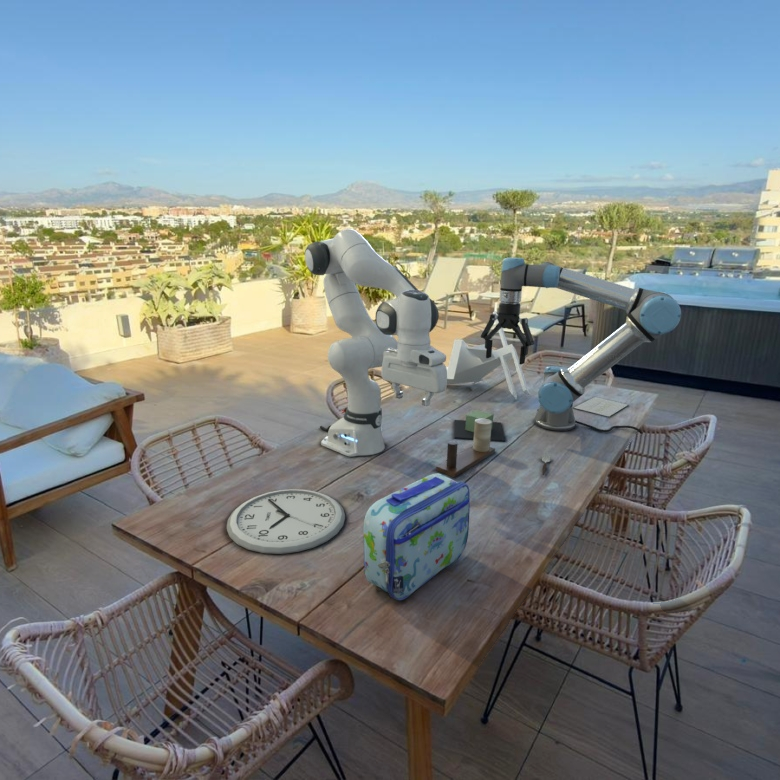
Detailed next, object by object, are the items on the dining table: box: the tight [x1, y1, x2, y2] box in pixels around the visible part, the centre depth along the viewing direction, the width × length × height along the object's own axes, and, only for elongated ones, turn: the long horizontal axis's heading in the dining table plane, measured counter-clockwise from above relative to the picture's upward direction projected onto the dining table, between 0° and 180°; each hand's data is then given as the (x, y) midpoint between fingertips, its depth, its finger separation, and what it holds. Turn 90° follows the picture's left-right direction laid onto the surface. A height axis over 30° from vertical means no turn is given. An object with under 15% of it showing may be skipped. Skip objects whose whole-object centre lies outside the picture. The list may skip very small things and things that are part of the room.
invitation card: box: [573, 396, 629, 418], centre depth 226 cm, size 21×1×15 cm
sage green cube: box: [465, 409, 494, 432], centre depth 196 cm, size 7×7×6 cm
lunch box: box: [362, 472, 471, 601], centre depth 112 cm, size 26×11×21 cm, turn 134°
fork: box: [541, 451, 552, 476], centre depth 168 cm, size 3×16×2 cm, turn 160°
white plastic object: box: [446, 310, 531, 400], centre depth 245 cm, size 37×45×31 cm
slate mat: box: [453, 419, 506, 443], centre depth 197 cm, size 18×18×1 cm
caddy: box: [435, 418, 496, 478], centre depth 170 cm, size 7×25×12 cm, turn 140°
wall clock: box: [226, 488, 346, 555], centre depth 135 cm, size 30×2×30 cm
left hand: (412, 401), depth 144 cm, fingers open, 8 cm apart
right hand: (504, 360), depth 192 cm, fingers open, 13 cm apart
